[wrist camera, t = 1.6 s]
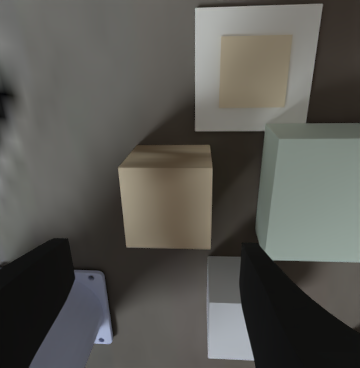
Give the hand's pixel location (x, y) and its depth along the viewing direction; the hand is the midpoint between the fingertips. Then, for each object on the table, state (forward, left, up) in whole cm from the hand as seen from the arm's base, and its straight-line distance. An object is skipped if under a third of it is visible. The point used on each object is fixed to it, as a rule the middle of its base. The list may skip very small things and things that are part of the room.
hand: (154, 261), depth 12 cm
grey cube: (+5, -9, -10) cm, 14 cm away
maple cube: (0, 0, -10) cm, 10 cm away
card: (+5, +7, -9) cm, 13 cm away
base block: (+10, 0, -9) cm, 14 cm away
